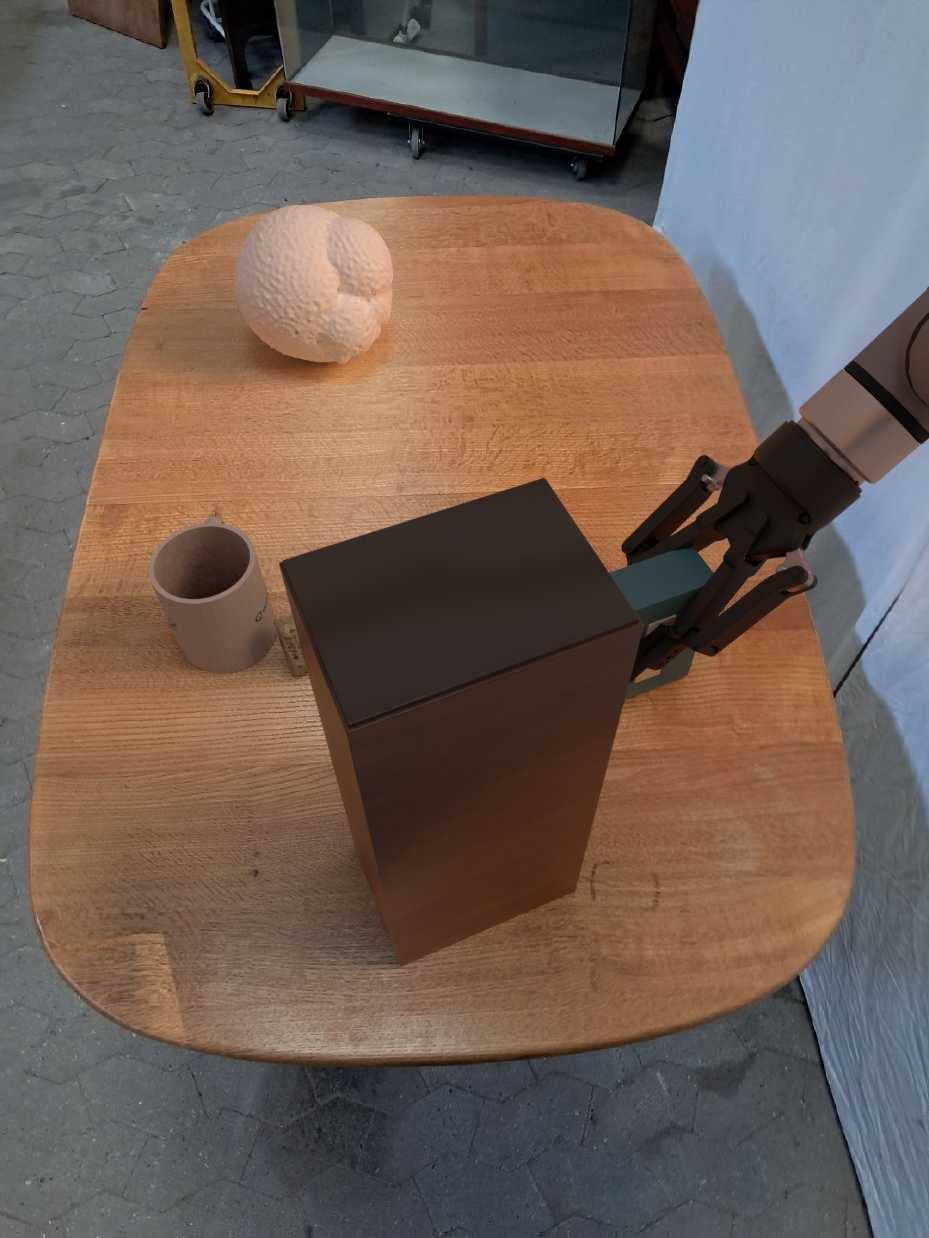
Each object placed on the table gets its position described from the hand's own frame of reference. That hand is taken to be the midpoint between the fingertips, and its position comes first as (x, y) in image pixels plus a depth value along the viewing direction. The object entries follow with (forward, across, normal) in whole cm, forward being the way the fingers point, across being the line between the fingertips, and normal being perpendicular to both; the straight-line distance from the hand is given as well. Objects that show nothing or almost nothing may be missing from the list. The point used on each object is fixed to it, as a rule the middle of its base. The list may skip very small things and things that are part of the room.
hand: (597, 659), depth 74 cm
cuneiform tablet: (+16, +12, +8) cm, 22 cm away
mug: (+22, +20, +15) cm, 33 cm away
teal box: (+1, 0, -6) cm, 6 cm away
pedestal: (+15, -10, +8) cm, 20 cm away
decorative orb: (+8, +55, +1) cm, 56 cm away
